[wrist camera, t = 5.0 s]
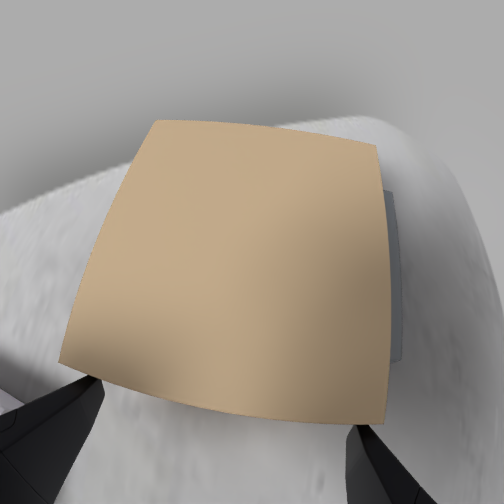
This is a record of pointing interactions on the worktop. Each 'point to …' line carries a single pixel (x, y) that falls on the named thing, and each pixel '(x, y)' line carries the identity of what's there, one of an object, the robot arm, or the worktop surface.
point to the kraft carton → (243, 276)
